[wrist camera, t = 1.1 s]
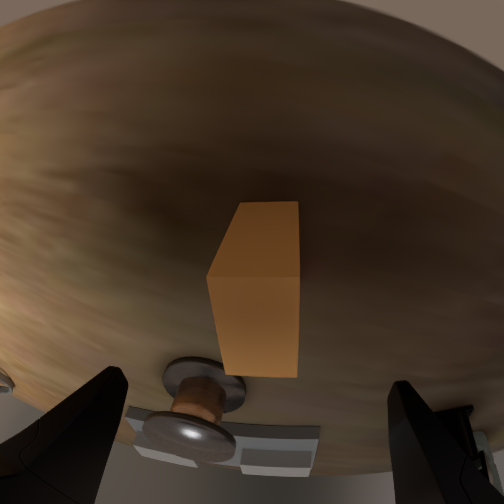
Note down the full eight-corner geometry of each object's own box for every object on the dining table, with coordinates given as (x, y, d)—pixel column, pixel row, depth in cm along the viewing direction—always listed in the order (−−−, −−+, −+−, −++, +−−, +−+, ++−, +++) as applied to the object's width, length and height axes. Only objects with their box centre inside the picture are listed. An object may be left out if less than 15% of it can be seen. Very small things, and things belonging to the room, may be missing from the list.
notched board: (319, 426, 26) (318, 457, 23) (311, 459, 30) (310, 484, 27) (129, 406, 29) (118, 431, 26) (154, 442, 33) (146, 463, 30)
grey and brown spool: (242, 360, 22) (227, 429, 17) (249, 409, 25) (239, 466, 20) (155, 352, 23) (128, 412, 18) (176, 401, 26) (158, 453, 21)
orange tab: (298, 201, 16) (300, 277, 10) (298, 282, 18) (296, 377, 12) (240, 202, 16) (205, 276, 10) (247, 282, 18) (225, 374, 12)
